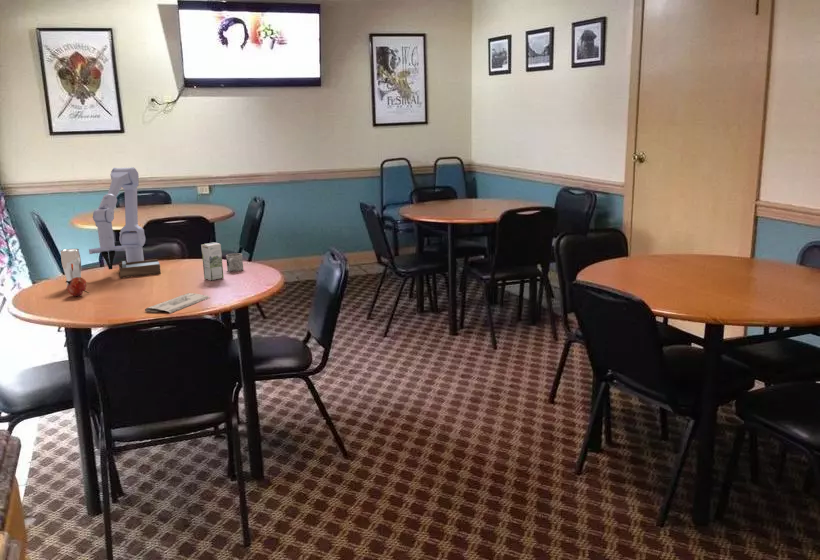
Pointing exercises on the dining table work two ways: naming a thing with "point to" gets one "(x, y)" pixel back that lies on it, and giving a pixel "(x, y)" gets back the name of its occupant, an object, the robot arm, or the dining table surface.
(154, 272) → the case
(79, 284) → the pomegranate
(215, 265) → the syrup box
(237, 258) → the mug
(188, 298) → the newspaper
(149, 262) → the cover plate
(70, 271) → the white tapered container
